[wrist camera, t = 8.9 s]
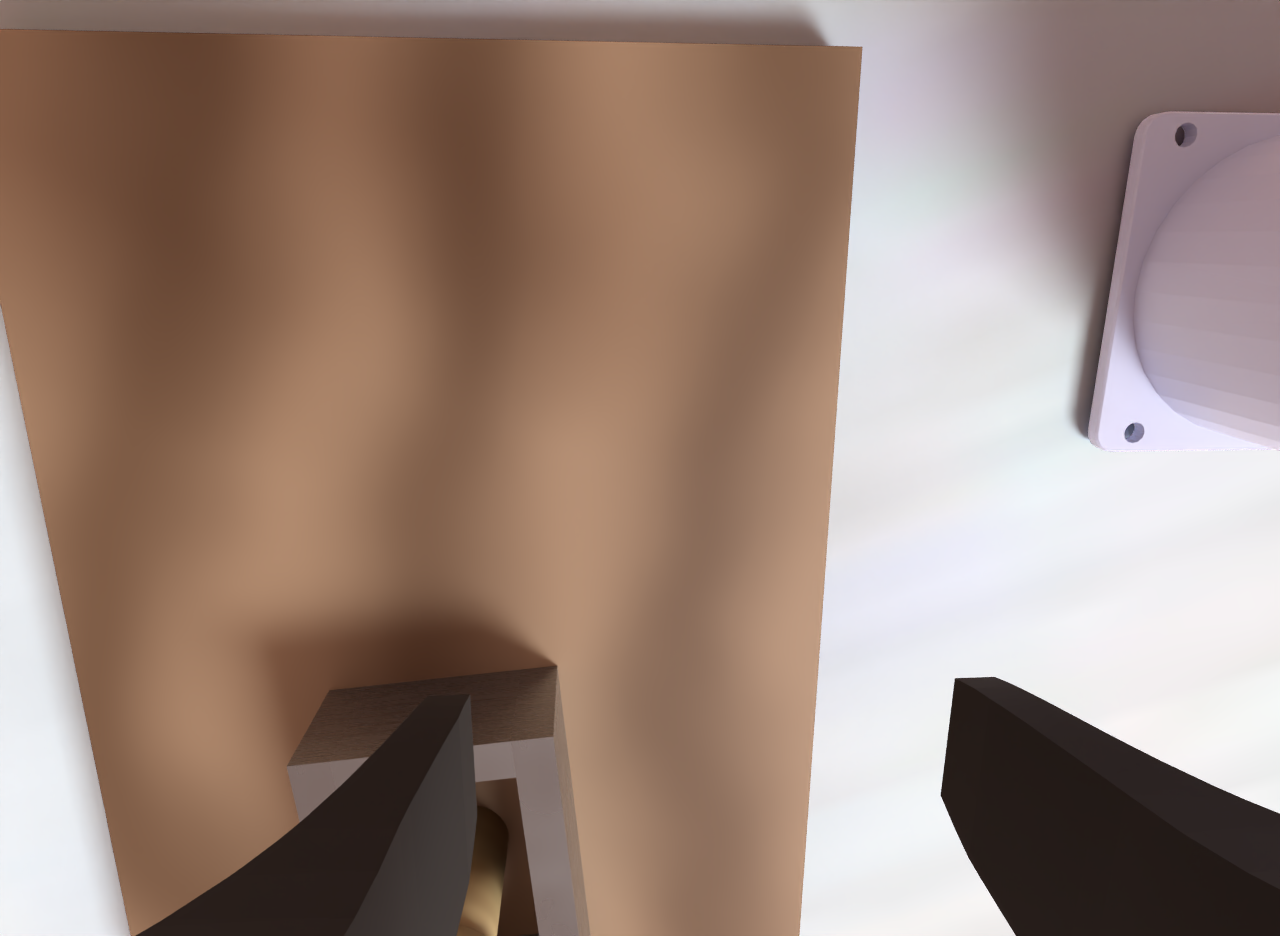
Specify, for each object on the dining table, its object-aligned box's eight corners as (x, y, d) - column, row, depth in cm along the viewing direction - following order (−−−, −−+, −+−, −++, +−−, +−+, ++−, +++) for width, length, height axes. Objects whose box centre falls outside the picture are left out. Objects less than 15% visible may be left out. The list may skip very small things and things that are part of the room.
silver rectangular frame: (557, 665, 20) (553, 736, 17) (592, 953, 23) (594, 1057, 20) (329, 690, 20) (286, 766, 17) (390, 978, 22) (362, 1087, 20)
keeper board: (839, 61, 18) (962, -22, 12) (784, 926, 25) (846, 1140, 19) (-2, 45, 17) (-309, -56, 11) (172, 959, 24) (36, 1198, 18)
